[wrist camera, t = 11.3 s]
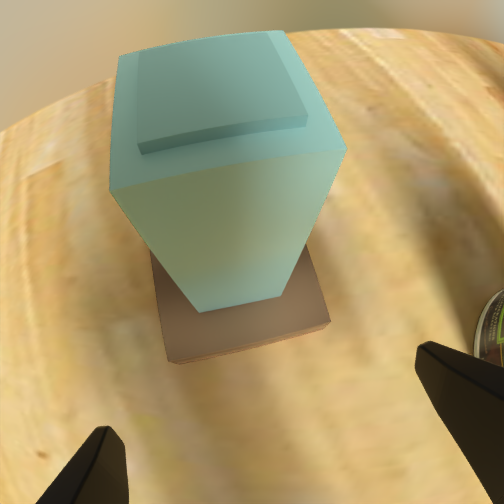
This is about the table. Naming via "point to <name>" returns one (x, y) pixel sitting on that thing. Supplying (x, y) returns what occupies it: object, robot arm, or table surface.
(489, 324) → the coffee can
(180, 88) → the pale teal tapered block
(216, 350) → the walnut block
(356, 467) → the table surface
